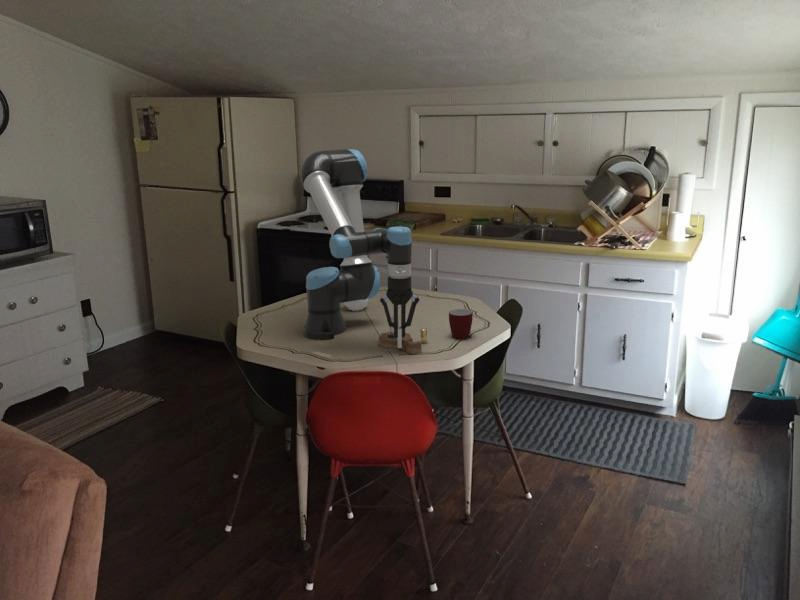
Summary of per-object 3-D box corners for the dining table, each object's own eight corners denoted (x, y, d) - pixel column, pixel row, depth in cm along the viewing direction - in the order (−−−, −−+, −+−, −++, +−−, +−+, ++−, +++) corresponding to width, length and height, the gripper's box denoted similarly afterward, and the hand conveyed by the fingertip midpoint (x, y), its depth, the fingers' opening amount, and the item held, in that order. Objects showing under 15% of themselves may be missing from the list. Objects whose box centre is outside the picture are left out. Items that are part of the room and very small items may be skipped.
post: (388, 343, 232) (387, 318, 230) (394, 341, 234) (393, 316, 232) (395, 345, 230) (395, 319, 228) (401, 342, 233) (400, 317, 230)
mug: (447, 334, 244) (447, 307, 241) (469, 333, 244) (470, 306, 242) (450, 344, 234) (450, 316, 231) (473, 343, 234) (474, 315, 231)
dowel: (419, 343, 232) (419, 329, 230) (423, 341, 234) (422, 327, 232) (424, 344, 231) (424, 330, 229) (428, 342, 232) (428, 328, 231)
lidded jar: (340, 312, 274) (339, 289, 271) (345, 305, 284) (344, 283, 281) (367, 313, 272) (366, 290, 270) (371, 305, 283) (370, 283, 280)
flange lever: (374, 342, 234) (374, 332, 233) (399, 336, 239) (398, 326, 238) (404, 356, 219) (403, 346, 218) (429, 350, 225) (429, 340, 224)
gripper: (379, 279, 214) (380, 351, 220) (420, 278, 215) (420, 350, 221) (378, 273, 222) (379, 343, 228) (418, 273, 222) (417, 342, 229)
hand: (399, 346), depth 224 cm, fingers closed
